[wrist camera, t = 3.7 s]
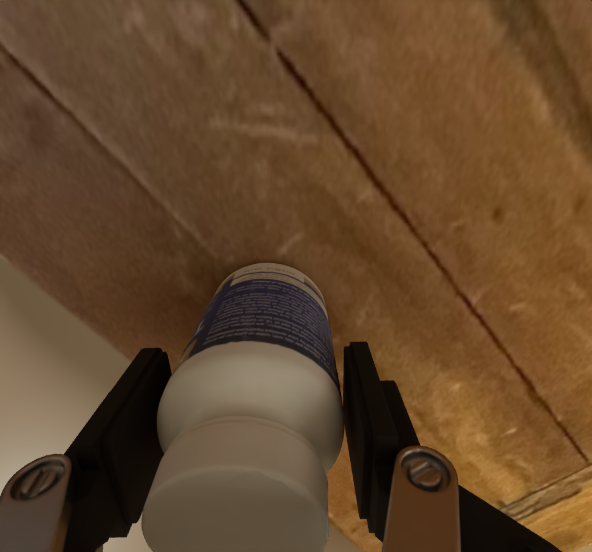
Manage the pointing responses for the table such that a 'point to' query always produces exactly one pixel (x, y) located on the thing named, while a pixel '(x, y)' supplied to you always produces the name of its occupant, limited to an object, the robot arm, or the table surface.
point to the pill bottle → (249, 423)
